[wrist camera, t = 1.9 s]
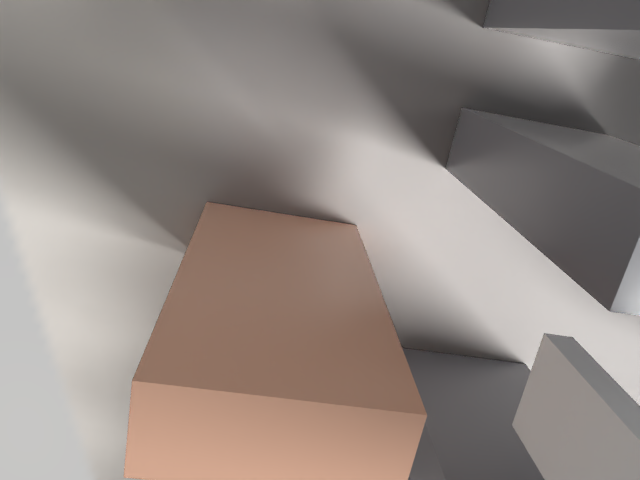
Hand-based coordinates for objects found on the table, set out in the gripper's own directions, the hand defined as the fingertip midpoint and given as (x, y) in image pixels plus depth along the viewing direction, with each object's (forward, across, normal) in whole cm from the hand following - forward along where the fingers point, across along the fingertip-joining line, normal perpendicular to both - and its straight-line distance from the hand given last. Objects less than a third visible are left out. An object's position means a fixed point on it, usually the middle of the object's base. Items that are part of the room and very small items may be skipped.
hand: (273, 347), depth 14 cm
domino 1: (+6, 0, 0) cm, 6 cm away
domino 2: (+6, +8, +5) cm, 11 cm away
